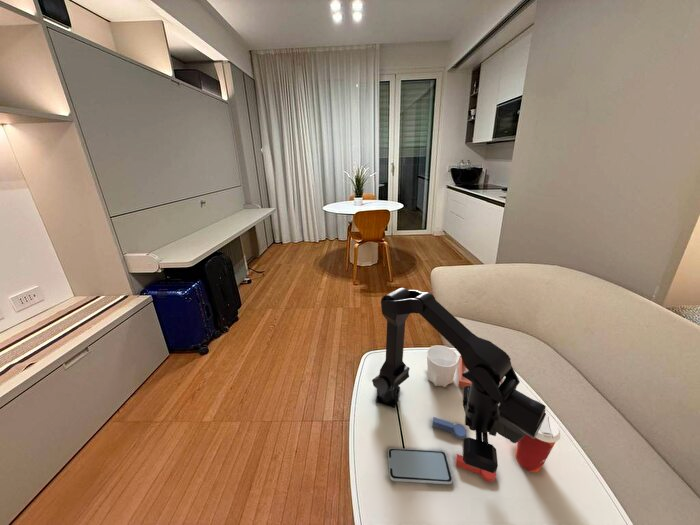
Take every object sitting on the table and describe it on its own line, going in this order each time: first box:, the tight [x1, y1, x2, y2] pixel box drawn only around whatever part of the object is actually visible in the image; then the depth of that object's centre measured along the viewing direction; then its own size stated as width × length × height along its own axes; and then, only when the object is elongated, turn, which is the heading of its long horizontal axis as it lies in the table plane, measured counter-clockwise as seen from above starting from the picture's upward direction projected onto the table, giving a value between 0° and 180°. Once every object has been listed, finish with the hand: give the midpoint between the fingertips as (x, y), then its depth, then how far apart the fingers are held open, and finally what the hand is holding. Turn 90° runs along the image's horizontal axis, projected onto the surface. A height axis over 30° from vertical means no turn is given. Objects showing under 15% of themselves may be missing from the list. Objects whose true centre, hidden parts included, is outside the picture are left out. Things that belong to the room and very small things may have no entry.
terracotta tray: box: [457, 355, 502, 389], centre depth 92 cm, size 13×13×3 cm
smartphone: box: [387, 447, 453, 485], centre depth 67 cm, size 7×1×15 cm
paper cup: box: [514, 413, 561, 473], centre depth 65 cm, size 8×8×14 cm
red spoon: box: [455, 453, 497, 483], centre depth 65 cm, size 9×4×2 cm, turn 68°
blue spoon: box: [431, 416, 468, 440], centre depth 75 cm, size 9×4×2 cm, turn 68°
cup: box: [426, 344, 459, 388], centre depth 91 cm, size 10×10×10 cm
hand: (472, 447), depth 64 cm, fingers open, 9 cm apart
